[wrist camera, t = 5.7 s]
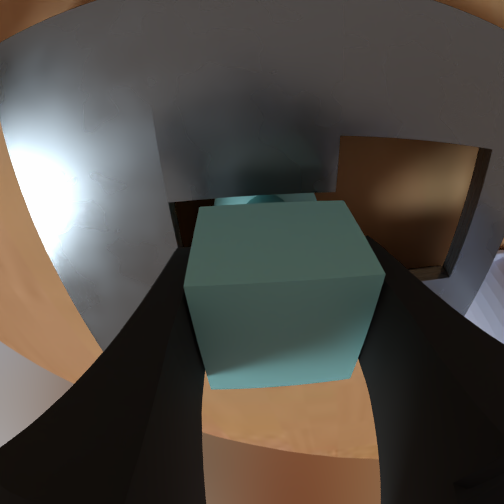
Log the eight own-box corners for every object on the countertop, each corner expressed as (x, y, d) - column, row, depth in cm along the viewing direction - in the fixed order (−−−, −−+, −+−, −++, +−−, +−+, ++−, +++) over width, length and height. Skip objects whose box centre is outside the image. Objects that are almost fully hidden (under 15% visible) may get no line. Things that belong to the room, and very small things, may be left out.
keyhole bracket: (490, 39, 9) (546, 53, 6) (431, 287, 19) (455, 331, 16) (43, 39, 8) (-13, 49, 5) (124, 312, 18) (111, 363, 15)
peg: (309, 148, 12) (385, 274, 6) (305, 229, 15) (349, 378, 8) (212, 152, 12) (183, 286, 6) (220, 233, 15) (211, 389, 8)
